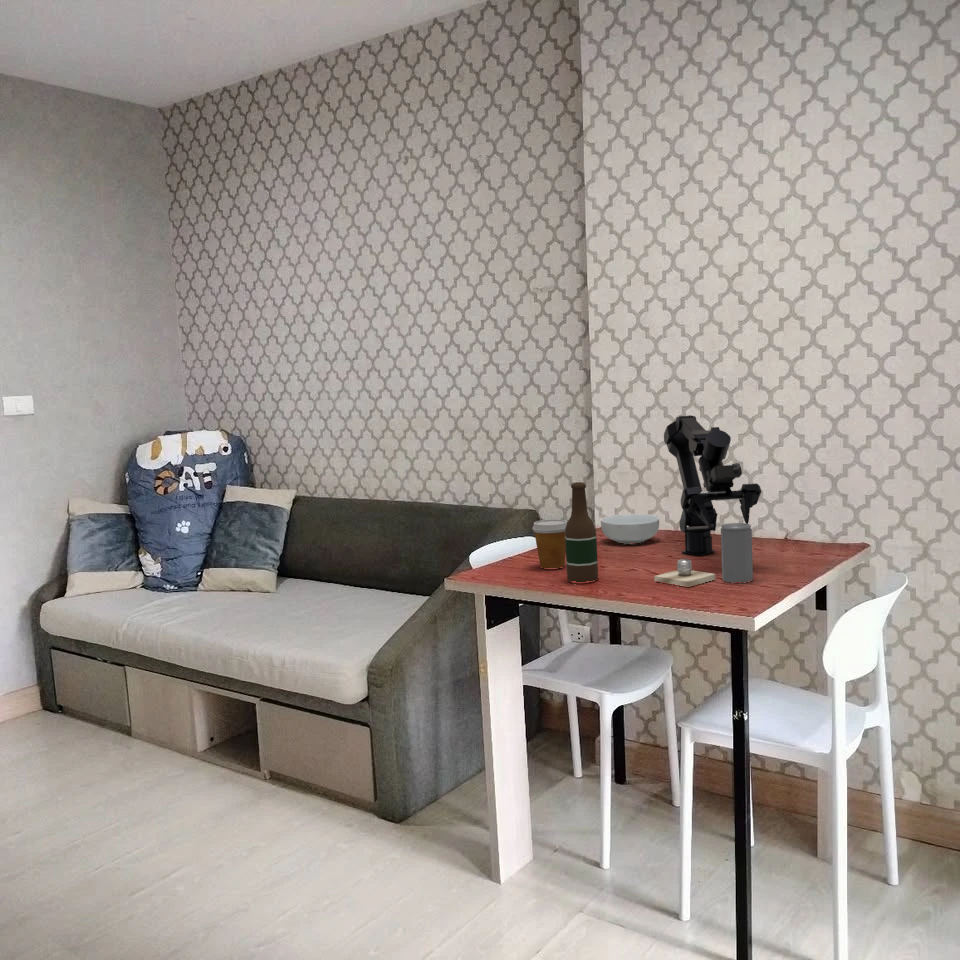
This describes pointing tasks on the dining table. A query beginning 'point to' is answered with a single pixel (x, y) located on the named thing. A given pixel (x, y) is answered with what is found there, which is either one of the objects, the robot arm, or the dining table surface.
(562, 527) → the disposable coffee cup
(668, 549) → the dining table surface
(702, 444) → the robot arm
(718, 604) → the dining table surface
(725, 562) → the charcoal can
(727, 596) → the dining table surface
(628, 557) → the dining table surface
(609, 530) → the cereal bowl
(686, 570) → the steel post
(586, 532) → the beer bottle
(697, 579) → the birch base
